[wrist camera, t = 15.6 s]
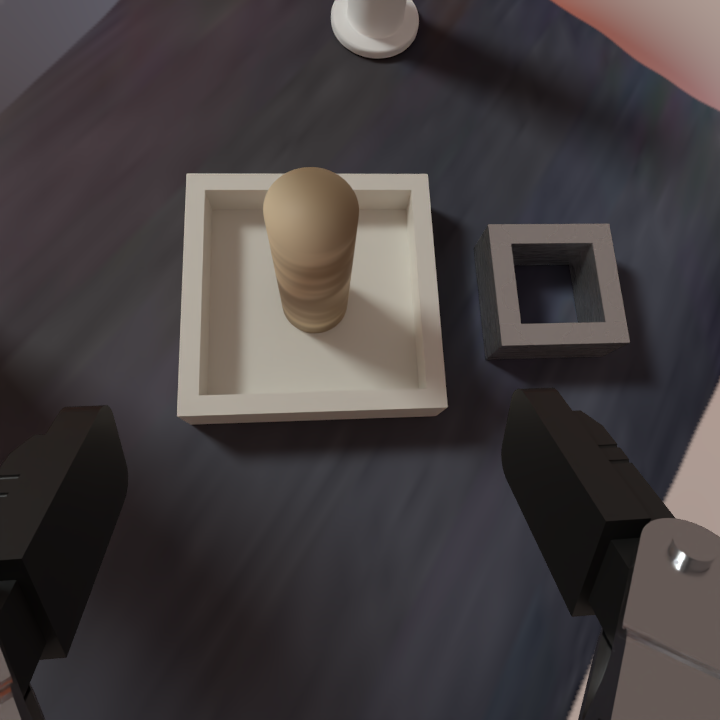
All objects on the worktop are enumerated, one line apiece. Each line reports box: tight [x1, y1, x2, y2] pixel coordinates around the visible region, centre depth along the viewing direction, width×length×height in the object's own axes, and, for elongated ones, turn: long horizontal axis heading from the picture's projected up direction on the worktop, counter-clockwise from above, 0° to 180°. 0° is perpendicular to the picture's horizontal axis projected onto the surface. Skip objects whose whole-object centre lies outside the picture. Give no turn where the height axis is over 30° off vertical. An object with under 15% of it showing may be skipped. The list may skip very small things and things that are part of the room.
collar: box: [474, 224, 630, 360], centre depth 37 cm, size 8×8×4 cm
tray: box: [177, 174, 448, 425], centre depth 36 cm, size 16×16×4 cm
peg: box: [263, 167, 359, 333], centre depth 31 cm, size 4×4×12 cm
